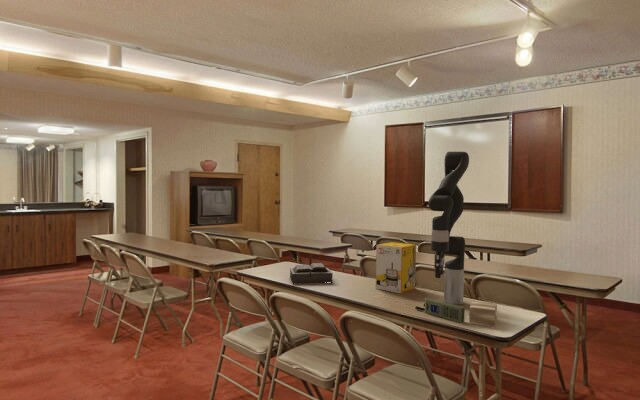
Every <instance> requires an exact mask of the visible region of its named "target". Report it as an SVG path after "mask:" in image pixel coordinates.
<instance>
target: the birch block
mask: <svg viewBox="0 0 640 400" xmlns="http://www.w3.org/2000/svg"><path fill="white" fill-rule="evenodd" d="M497 310H498V303H493V302H485V301H475V300H473V301H472V302H471V304H470V306H469V314H468V315H469V317H468V324H472V325H473V324H474V325H479V326H480V325H481V326H485V327H486V326H489V327H495V325H496V322H497V318H498V317H497V316H498V315H497V312H498V311H497Z"/></svg>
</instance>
